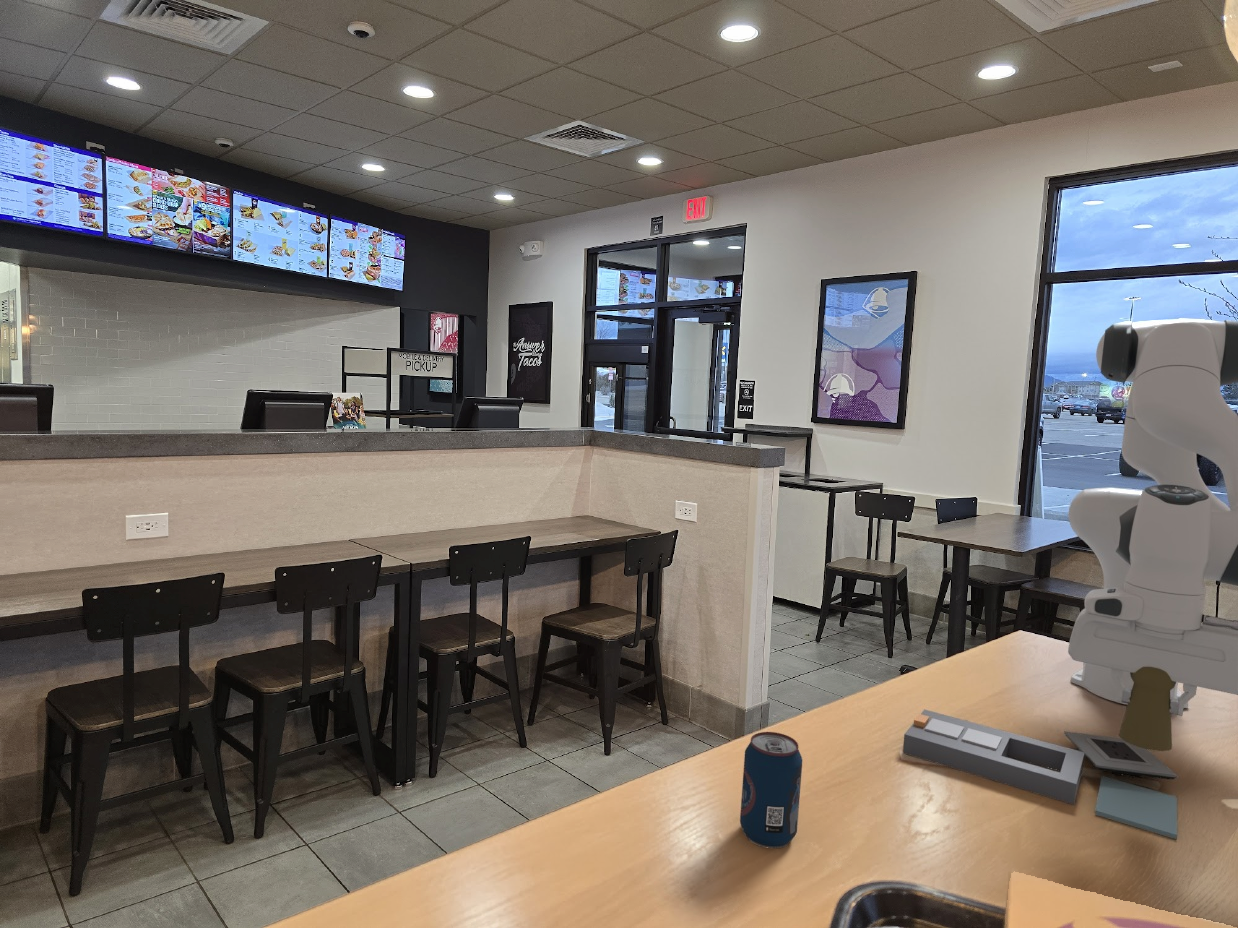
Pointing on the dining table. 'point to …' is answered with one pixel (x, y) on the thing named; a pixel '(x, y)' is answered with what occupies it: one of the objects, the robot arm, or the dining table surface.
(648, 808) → the dining table surface
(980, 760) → the grey slotted tray
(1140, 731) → the cork
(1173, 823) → the rubber mat
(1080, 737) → the grey picture frame
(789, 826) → the soda can
